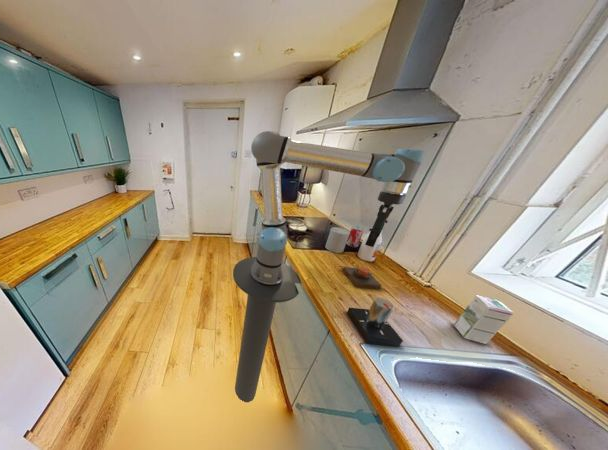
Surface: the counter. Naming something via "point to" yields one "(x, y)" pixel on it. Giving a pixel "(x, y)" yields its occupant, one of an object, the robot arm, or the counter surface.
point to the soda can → (354, 236)
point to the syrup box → (482, 319)
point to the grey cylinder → (337, 239)
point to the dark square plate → (361, 278)
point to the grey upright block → (379, 313)
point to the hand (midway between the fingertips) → (372, 240)
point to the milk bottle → (369, 248)
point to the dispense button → (363, 271)
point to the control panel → (373, 329)
